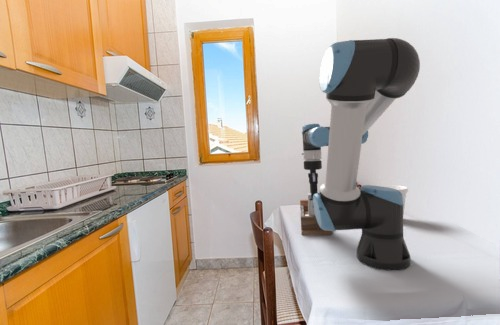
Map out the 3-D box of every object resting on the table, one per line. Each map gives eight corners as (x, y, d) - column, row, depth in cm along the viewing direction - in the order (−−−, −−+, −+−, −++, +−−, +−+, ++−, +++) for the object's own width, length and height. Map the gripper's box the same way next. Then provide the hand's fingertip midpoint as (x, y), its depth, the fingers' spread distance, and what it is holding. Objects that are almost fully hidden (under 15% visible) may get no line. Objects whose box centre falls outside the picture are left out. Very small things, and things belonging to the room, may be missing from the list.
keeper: (325, 227, 108) (323, 195, 107) (305, 227, 110) (304, 195, 109) (323, 223, 114) (322, 192, 113) (305, 223, 116) (304, 192, 115)
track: (331, 235, 104) (330, 218, 103) (301, 234, 106) (300, 218, 106) (322, 211, 139) (322, 198, 139) (300, 211, 141) (300, 199, 141)
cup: (414, 223, 112) (413, 188, 111) (385, 224, 113) (385, 190, 112) (398, 215, 125) (398, 184, 124) (372, 216, 125) (372, 185, 124)
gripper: (303, 159, 119) (305, 208, 121) (304, 162, 102) (306, 219, 104) (319, 158, 118) (321, 208, 119) (323, 161, 101) (325, 219, 102)
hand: (314, 213), depth 111 cm, fingers closed on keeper, 4 cm apart
